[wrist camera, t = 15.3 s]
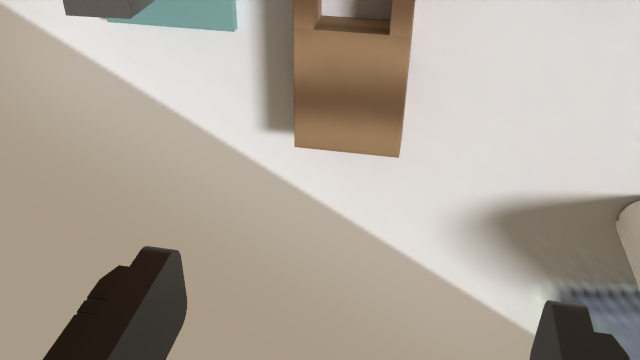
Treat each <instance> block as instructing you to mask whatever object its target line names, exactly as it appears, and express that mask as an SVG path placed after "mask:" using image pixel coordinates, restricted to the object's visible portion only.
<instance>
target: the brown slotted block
mask: <svg viewBox="0 0 640 360" xmlns="http://www.w3.org/2000/svg"><path fill="white" fill-rule="evenodd" d="M414 7H415V0H392V11H391V21H387V20H373V19H359V18H345V17H332V16H321V0H293V37H294V131H295V147H301V148H310V149H320V150H330V151H339V152H349V153H359V154H368V155H378V156H388V157H397V158H399V153H400V146H401V139H402V129H403V119H404V109H405V99H406V88H407V78H408V68H409V58H410V48H411V38H412V27H413V17H414Z"/></svg>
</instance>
